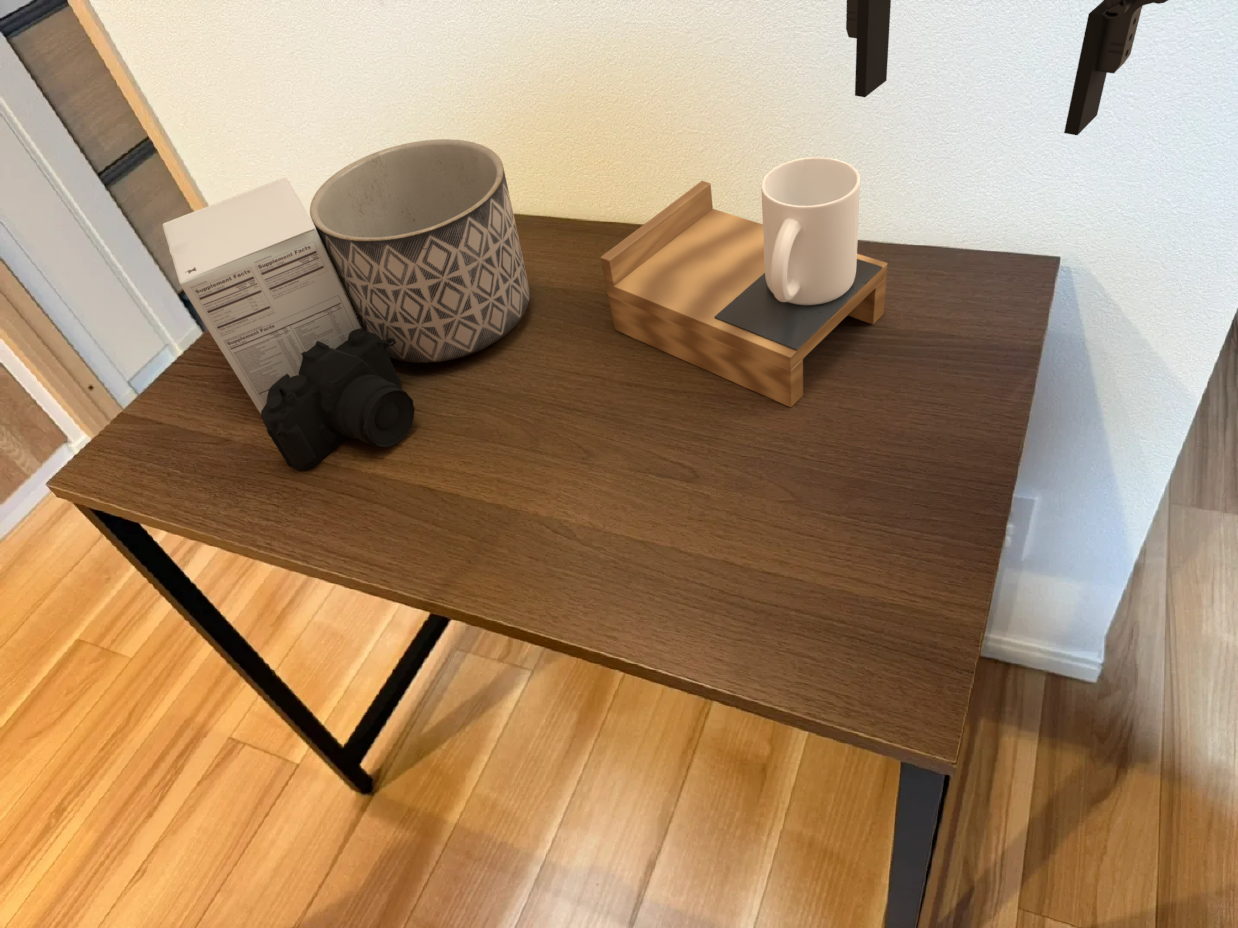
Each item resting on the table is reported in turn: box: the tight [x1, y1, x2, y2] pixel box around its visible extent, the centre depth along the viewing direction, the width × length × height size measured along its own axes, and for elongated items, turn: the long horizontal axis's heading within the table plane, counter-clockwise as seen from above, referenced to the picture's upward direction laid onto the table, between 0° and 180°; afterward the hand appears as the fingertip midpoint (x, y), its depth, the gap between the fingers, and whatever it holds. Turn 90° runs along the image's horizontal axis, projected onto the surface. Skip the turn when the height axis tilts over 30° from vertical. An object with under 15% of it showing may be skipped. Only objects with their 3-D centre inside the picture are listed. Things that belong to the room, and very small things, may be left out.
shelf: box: [600, 180, 888, 408], centre depth 86 cm, size 22×16×9 cm
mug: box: [760, 156, 861, 305], centre depth 77 cm, size 12×8×10 cm
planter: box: [309, 138, 531, 364], centre depth 91 cm, size 19×19×16 cm
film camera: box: [260, 327, 416, 472], centre depth 83 cm, size 15×10×9 cm, turn 144°
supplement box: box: [162, 177, 362, 415], centre depth 89 cm, size 13×13×18 cm
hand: (968, 105), depth 54 cm, fingers open, 13 cm apart
